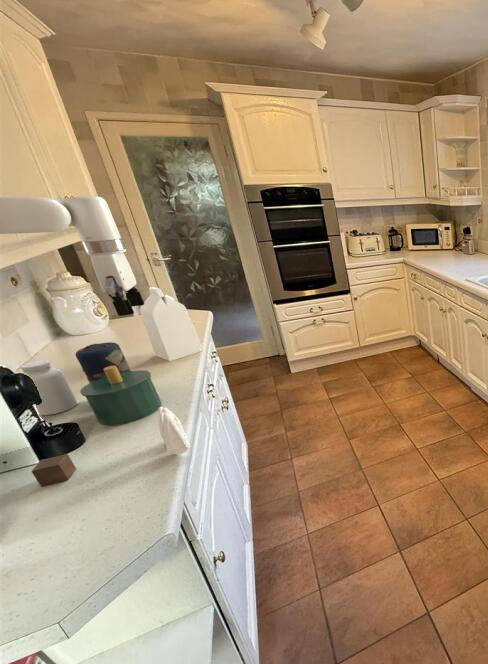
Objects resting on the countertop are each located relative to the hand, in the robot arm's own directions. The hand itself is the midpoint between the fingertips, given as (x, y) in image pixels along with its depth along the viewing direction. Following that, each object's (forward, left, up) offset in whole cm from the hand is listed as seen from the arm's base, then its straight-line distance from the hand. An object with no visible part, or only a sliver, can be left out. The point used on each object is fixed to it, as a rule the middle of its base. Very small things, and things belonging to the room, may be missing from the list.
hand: (132, 310), depth 109 cm
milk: (-5, +45, -29) cm, 54 cm away
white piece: (+7, -31, -29) cm, 43 cm away
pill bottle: (-29, +11, -29) cm, 42 cm away
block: (-15, -31, -29) cm, 45 cm away
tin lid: (-9, -3, -19) cm, 22 cm away
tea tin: (-9, -3, -29) cm, 30 cm away
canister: (-15, +11, -29) cm, 34 cm away
